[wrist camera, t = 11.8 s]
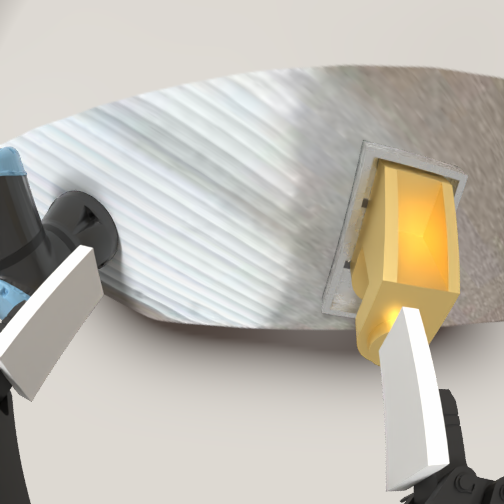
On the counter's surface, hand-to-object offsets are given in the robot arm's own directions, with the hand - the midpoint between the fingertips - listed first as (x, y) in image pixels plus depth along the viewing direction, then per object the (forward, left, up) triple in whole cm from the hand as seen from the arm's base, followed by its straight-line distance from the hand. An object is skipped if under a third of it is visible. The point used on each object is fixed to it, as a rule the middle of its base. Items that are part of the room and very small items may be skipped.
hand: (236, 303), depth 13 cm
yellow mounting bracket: (+16, -11, -30) cm, 35 cm away
